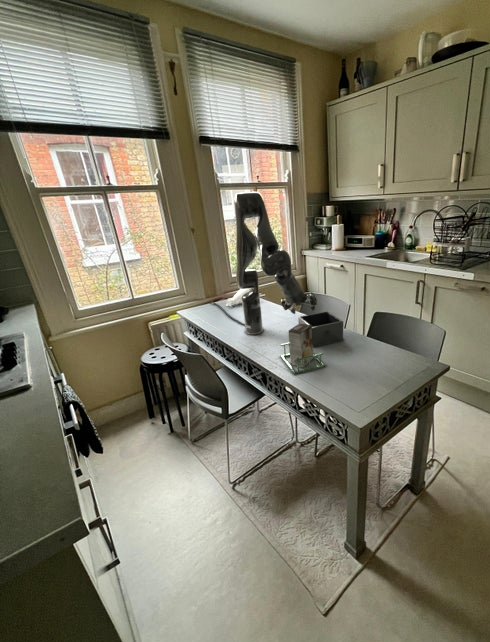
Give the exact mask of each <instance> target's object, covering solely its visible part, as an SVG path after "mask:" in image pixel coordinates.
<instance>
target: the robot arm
mask: <svg viewBox="0 0 490 642" xmlns="http://www.w3.org/2000/svg"><path fill="white" fill-rule="evenodd" d="M233 202H234V204H233V205H234V215H235V229H236V231H235V233H236V235H235V236H236V238H235V239H236V240H235V252H236V269H235V270H236V271H235V282H236V287H238V289H239V290H240V289H248V288H249V289H250V291H249V292H248V293H246V294H244V295H243V296H242V303H241V305H242V312H243V313H242V314H243V321H244V323H243V322H241V321H240V320H239V319H236V318H235V317H233V316H232V315H230V314H229V313H228V312H227V311H226V310H225V309H224V308H223V307H222V306H221V305H220V304H218V303H216V302H214V301H210V302H209V304H213V305H215V306H217V307H218V308H219V309H221V310H222V312H223V313H224V314H226V316H227V317H228V318H230V319H232V320H233V321H235V322H236V323H238V324H240V325H241V326H244V327H245V328H244V329H245V334H247V335H251V336H252V335H258V334H262V333H263V332H264V327H263V318H262V306H261V298H260V297H261V295H260V283H259V282H260V281H259V274H258V270H256V269H255V268H253V269H252V268H251V269H250V268H249V269H247V268H248V267H249V266H250V265H251V263H252V262H253V261H254V260H255V259H256V257H257V255H258V254H257V253H258V250H259V254H260V255H259V256H260V267H261V270H262V273H263V274H264V275H265V276H267V277H270V278H271V277H274V280H275V283H276V285H277V286H278V287H279V289H280V291H281V293H282V294H283V296H284V297H281V298H280V305H281V306H282V308H283V310H284V311H290V313H292V314H293V315H295V314H296V308H295V306H296V307H297V306H306V307H307V306H308V307H310V310H311V311H312V312H313V311H315V310H316V306H317V305H318V303H317V301H318V300H317V297H316V296H315V294H314V293H313V292H312V291H311V292H309V294H306V293H305V292H304V290H303V288H302V286H301V284H300V282H299V281H298V280H297V278H296V276H295V274H294V273H293V268H292V259H291V256H290V254H289V253H288V252H287V251H286V250H285V249H279V248H280V247H279V242H278V240H277V238H276V236H275V234H274V232H273V231H274V230H273V229H272V227H271V226H272V225H271V223H270V218H269V214H268V211H267V207H266V204H265V201H264V198H263V196H262V194H261V193H260V192H258V191H250V192H249V191H248V192H239V193H236V194H235V196H234V201H233ZM251 218H252V219H253V218H259V219H258V223H257V225H256V227H255V230H254V233H253V232H252V231H251V229H250V228H249V226H248V225H247V224H246V221H245V220H246V219H251ZM287 303H288V304H287Z"/></svg>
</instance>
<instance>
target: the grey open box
mask: <svg viewBox="0 0 490 642" xmlns="http://www.w3.org/2000/svg"><path fill="white" fill-rule="evenodd" d="M297 318H298V320H297V321H298V324H299V323H301V324H307V325H312V335H313V348H315V347H320V346H324V345H329V344H333V343H336V342H337V343H338V342H342V341H344V321H343V320H342V319H341V318H339V317H337V316H336V315H334V313H331V312H330V311H328V310H327V311H321V312H316V313H310V314H306V315H300V316H298V317H297Z"/></svg>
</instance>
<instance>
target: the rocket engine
mask: <svg viewBox="0 0 490 642" xmlns="http://www.w3.org/2000/svg"><path fill="white" fill-rule="evenodd" d="M250 290H251V288H248V289H240V288H239V290H238V291H237V292H236V293H235V294H234V295H233V297H231V298H230V297H229V298H227V301H226V304H225V306H226V307H230V308H233V307H234V306H233V304H242V296H243V295H244V294H246V293H248V292H249V291H250Z"/></svg>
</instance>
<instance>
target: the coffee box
mask: <svg viewBox="0 0 490 642" xmlns="http://www.w3.org/2000/svg"><path fill="white" fill-rule="evenodd" d="M288 343H289V344H288V346H289V345H290V352H289V354H290V356H289V357H290V358H289V359H290V365H291V366H296V367H297V361H295V362H294V360H295V359H300V358H304V357H308V356H312V355H313V353H314V347H313V335H312V325H307V324H301V323H299V322H298V323H297V324H296V325H295V326H294V327H292V328H290V329H289V330H288ZM312 360H314V357H312V358H310V362H311V361H312ZM304 362H305V366H306V365H309V358H308V359H304ZM299 368H303V360H300V361H299Z"/></svg>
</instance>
